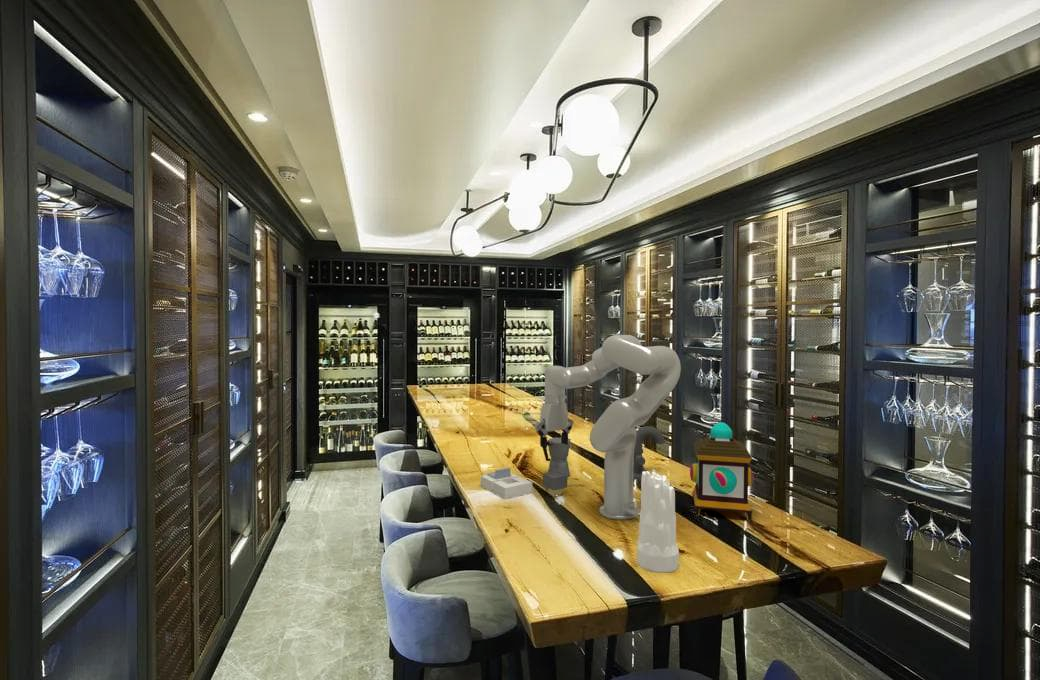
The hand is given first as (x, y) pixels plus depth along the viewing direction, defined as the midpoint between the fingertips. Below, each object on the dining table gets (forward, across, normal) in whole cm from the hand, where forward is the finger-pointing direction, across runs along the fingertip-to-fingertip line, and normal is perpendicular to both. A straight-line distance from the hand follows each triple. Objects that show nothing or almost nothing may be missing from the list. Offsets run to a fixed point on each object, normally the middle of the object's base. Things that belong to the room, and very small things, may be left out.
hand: (554, 445), depth 194 cm
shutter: (+14, +12, -19) cm, 27 cm away
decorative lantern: (+18, -37, +45) cm, 61 cm away
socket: (+18, +12, -14) cm, 26 cm away
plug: (+18, 0, +1) cm, 18 cm away
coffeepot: (+19, -14, -16) cm, 29 cm away
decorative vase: (+18, +11, +60) cm, 63 cm away
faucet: (+18, -48, +1) cm, 51 cm away
